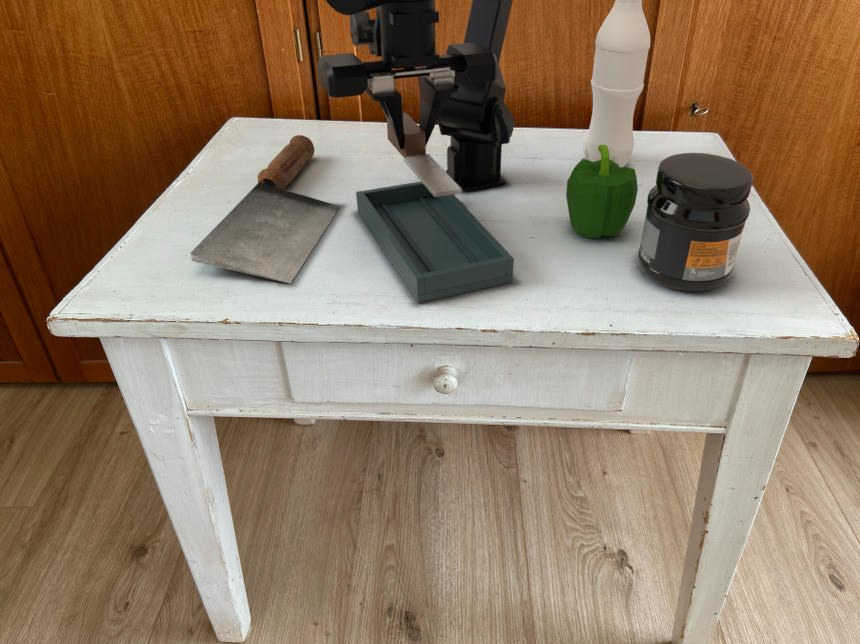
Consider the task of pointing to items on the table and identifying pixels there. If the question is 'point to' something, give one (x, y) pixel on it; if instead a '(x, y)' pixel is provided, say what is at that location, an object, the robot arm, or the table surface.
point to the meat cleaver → (270, 223)
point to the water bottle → (617, 81)
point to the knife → (423, 160)
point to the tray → (433, 241)
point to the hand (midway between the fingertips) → (412, 146)
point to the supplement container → (694, 221)
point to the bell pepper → (600, 196)
